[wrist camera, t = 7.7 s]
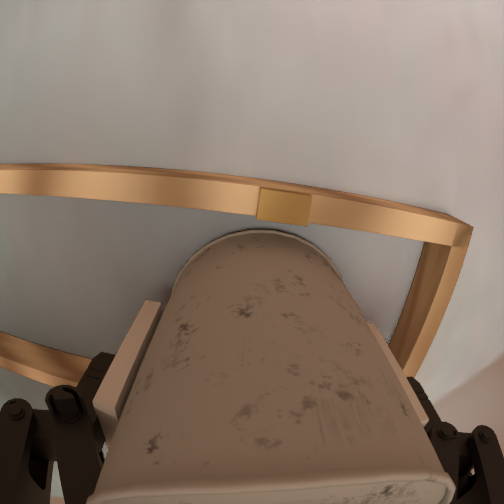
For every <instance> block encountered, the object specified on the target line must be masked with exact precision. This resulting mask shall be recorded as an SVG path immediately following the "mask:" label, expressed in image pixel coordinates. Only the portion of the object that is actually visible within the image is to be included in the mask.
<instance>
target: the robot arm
mask: <svg viewBox="0 0 504 504" xmlns="http://www.w3.org/2000/svg"><path fill="white" fill-rule="evenodd" d="M160 319H161V302H155V301H148V300H146V301H145V303H144V304H143V306H142V308H141V310H140V311H139V313H138V315H137V317H136V319H135V320H134V322H133V324H132V326H131V328H130V330H129V331H128V333H127V335H126V337H125V339H124V341H123V343H122V344H121V346H120V348H119V350H118V352H117V354H116V355H113V354H109V353H104V352H101V353H100V354H98V355H97V356H95V357H94V358H93V359H92V361H91V362H90V364H89V366H88V369H86V371H85V372H84V375H83V376H82V378H81V379H80V381H79V383H78V385H77V386H76V387H74V386H71V385H59V386H55V387H54V388H52V389H50V390H49V392H48V393H47V394H46V398H45V401H46V404H47V406H48V408H49V410H38V409H32V407H31V405H30V404H29V403H28V402H27V401H26V400H23V399H11V400H9V401H7V402H6V403H5V404H4V405H3V407H2V408H1V411H0V504H50V492H51V481H52V472H53V463H54V461H57V463H58V469H59V475H60V481H61V486H62V491H63V496H64V500H65V504H86V502H87V498H88V497H89V496H91V495H92V494H94V491H95V488H96V485H97V482H98V479H99V476H100V473H101V470H102V467H103V464H104V461H105V458H104V454H103V451H102V448H103V445H104V442H106V444H107V447H108V448H109V447H110V444H111V442H112V439H113V436H114V433H115V431H116V428H117V425H118V422H119V420H120V417H121V415H122V412H123V409H124V407H125V404H126V401H127V399H128V396H129V394H130V391H131V389H132V386H133V384H134V381H135V379H136V376H137V374H138V371H139V369H140V366H141V364H142V361H143V359H144V357H145V354H146V352H147V349H148V347H149V345H150V342H151V340H152V337H153V335H154V333H155V330H156V328H157V326H158V324H159V321H160ZM368 325H369V327H370V329H371V330H372V332H373V334H374V336H375V337H376V339H377V341H378V343H379V344H380V346H381V348H382V350H383V352H384V353H385V355H386V357H387V359H388V361H389V362H390V364H391V366H392V368H393V370H394V372H395V373H396V375H397V377H398V379H399V381H400V383H401V385H402V387H403V388H404V390H405V392H406V394H407V396H408V398H409V400H410V402H411V404H412V406H413V408H414V410H415V412H416V414H417V415H418V417H419V419H420V421H421V423H422V425H423V427H424V430H425V432H426V434H427V436H428V438H429V440H430V442H431V444H432V446H433V448H434V450H435V452H436V454H437V457H438V459H439V461H440V463H441V465H442V467H443V470H444V472H446V473H448V474H449V476H450V477H451V479H452V481H453V482H454V484H455V487H456V489H455V492H454V495H453V498H452V501H451V502H450V503H449V504H504V457H503V454H502V451H501V448H500V445H499V442H498V440H497V437H496V435H495V433H494V431H493V430H492V429H491V428H489V427H487V426H484V425H480V426H477V427H476V428H475V429H474V430H473V431H472V433H462V432H458V431H457V430H456V428H455V427H454V426H453V425H451V424H449V423H447V422H442V421H441V420H440V418H439V416H438V414H437V413H436V411H435V409H434V407H433V405H432V404H431V402H430V400H428V397H427V395H426V393H424V392H425V391H424V390H423V388H422V386H421V384H420V383H419V382H418V381H417V380H415V379H414V378H413V377H406V376H405V375H404V373H403V371H402V369H401V367H400V366H399V364H398V362H397V361H396V359H395V357H394V355H393V354H392V352H391V350H390V349H389V347H388V345H387V343H386V342H385V340H384V338H383V337H382V335H381V333H380V332H379V330H378V328H377V327H376V325H375V324H374V323H368ZM473 468H474V471H475V474H474V475H472V473H471V470H472V469H473Z"/></svg>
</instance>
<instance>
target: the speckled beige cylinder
mask: <svg viewBox="0 0 504 504" xmlns="http://www.w3.org/2000/svg"><path fill="white" fill-rule="evenodd" d="M455 489H456V487H455V484H454V482H453V481H452V479H451V477H450V476H449V474H448V473H446V472H444V470H443V467H442V465H441V463H440V461H439V459H438V457H437V454H436V452H435V450H434V448H433V446H432V444H431V442H430V440H429V438H428V436H427V434H426V432H425V430H424V427H423V425H422V423H421V421H420V419H419V417H418V415H417V414H416V412H415V410H414V408H413V406H412V404H411V402H410V400H409V398H408V396H407V394H406V392H405V390H404V388H403V387H402V385H401V383H400V381H399V379H398V377H397V375H396V373H395V372H394V370H393V368H392V366H391V364H390V362H389V361H388V359H387V357H386V355H385V353H384V352H383V350H382V348H381V346H380V344H379V343H378V341H377V339H376V337H375V336H374V334H373V332H372V330H371V329H370V327H369V325H368V323H367V322H366V320H365V318H364V317H363V315H362V313H361V311H360V310H359V308H358V306H357V305H356V303H355V301H354V300H353V298H352V296H351V295H350V293H349V291H348V290H347V288H346V286H345V285H344V283H343V280H342V277H341V275H340V273H339V272H338V270H337V269H336V267H335V266H334V264H333V263H332V261H331V260H330V258H329V257H327V256H326V255H325V254H324V253H323V252H322V251H321V250H319V249H318V248H317V247H316V246H315V245H313V244H311V243H309V242H307V241H305V240H303V239H301V238H299V237H297V236H296V235H292V234H288V233H284V232H280V231H275V230H247V231H242V232H237V233H232V234H228V235H226V236H223V237H221V238H219V239H217V240H214V241H212V242H210V243H208V244H207V245H206V246H204V247H203V248H202V249H200V250H199V251H198V252H196V253H195V254H194V255H192V257H191V258H190V259H189V260H188V262H187V263H186V264H185V265H184V267H183V268H182V269H181V270H180V272H179V274H178V276H177V279H176V281H175V283H174V286H173V288H172V292H171V296H170V299H169V301H168V303H167V305H166V308H165V310H164V312H163V314H162V317H161V319H160V321H159V324H158V326H157V328H156V330H155V333H154V335H153V337H152V340H151V342H150V345H149V347H148V349H147V352H146V354H145V357H144V359H143V361H142V364H141V366H140V369H139V371H138V374H137V376H136V379H135V381H134V384H133V386H132V389H131V391H130V394H129V396H128V399H127V401H126V404H125V407H124V409H123V412H122V415H121V417H120V420H119V422H118V425H117V428H116V431H115V433H114V436H113V439H112V442H111V444H110V447H109V450H108V453H107V456H106V458H105V461H104V464H103V467H102V470H101V473H100V476H99V479H98V482H97V485H96V488H95V491H94V494H92V495H91V496H89V497H88V498H87V502H86V504H449V503H450V502H451V501H452V498H453V495H454V492H455Z"/></svg>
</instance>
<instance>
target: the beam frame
mask: <svg viewBox="0 0 504 504" xmlns="http://www.w3.org/2000/svg"><path fill="white" fill-rule="evenodd" d="M0 193H10V194H29V195H46V196H61V197H75V198H88V199H101V200H113V201H124V202H135V203H146V204H156V205H166V206H176V207H185V208H195V209H204V210H212V211H221V212H229V213H238V214H246V215H254V216H256V219H257V220H264V221H272V222H279V223H287V224H294V225H302V226H307V225H308V223H313V224H320V225H327V226H334V227H341V228H347V229H354V230H360V231H367V232H373V233H379V234H385V235H391V236H397V237H403V238H409V239H415V240H420V241H425V244H424V247H423V251H422V254H421V258H420V261H419V264H418V267H417V271H416V274H415V277H414V280H413V283H412V286H411V289H410V292H409V295H408V298H407V300H406V303H405V306H404V309H403V311H402V314H401V317H400V319H399V322H398V325H397V327H396V330H395V332H394V335H393V337H392V340H391V342H390V344H389V349H390V350H391V352H392V354H393V355H394V357H395V359H396V361H397V362H398V364H399V366H400V367H401V369H402V371H403V373H404V375H405V376H406V377H413V378H414V377H415V376H416V374H417V372H418V370H419V368H420V366H421V364H422V362H423V360H424V358H425V356H426V354H427V352H428V350H429V348H430V345H431V343H432V341H433V339H434V337H435V335H436V332H437V330H438V328H439V325H440V323H441V321H442V318H443V316H444V314H445V311H446V309H447V306H448V304H449V301H450V299H451V296H452V293H453V291H454V288H455V285H456V282H457V280H458V277H459V274H460V271H461V268H462V265H463V262H464V259H465V255H466V252H467V249H468V246H469V242H470V239H471V235H472V231H473V228H474V227H473V226H471V225H469V224H467V223H465V222H463V221H461V220H459V219H457V218H455V217H453V216H451V215H448V214H444V213H440V212H436V211H432V210H428V209H423V208H419V207H415V206H410V205H406V204H401V203H396V202H392V201H387V200H382V199H377V198H372V197H367V196H362V195H357V194H351V193H346V192H340V191H335V190H329V189H323V188H317V187H311V186H305V185H298V184H292V183H285V182H278V181H271V180H264V179H256V178H249V177H241V176H232V175H224V174H215V173H205V172H195V171H184V170H173V169H161V168H147V167H132V166H113V165H89V164H0ZM91 361H92V359H88V358H84V357H80V356H76V355H72V354H69V353H65V352H62V351H58V350H55V349H51V348H48V347H45V346H41V345H38V344H35V343H32V342H29V341H26V340H23V339H20V338H17V337H14V336H11V335H9V334H6V333H3V332H0V366H1V367H3V368H6V369H8V370H10V371H13V372H15V373H18V374H20V375H23V376H25V377H28V378H30V379H33V380H36V381H39V382H41V383H44V384H47V385H50V386H53V387H55V386H59V385H71V386H74V387H76V386H77V385H78V383H79V381H80V379H81V378H82V376H83V375H84V372H85V371H86V369H88V366H89V364H90V362H91Z"/></svg>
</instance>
